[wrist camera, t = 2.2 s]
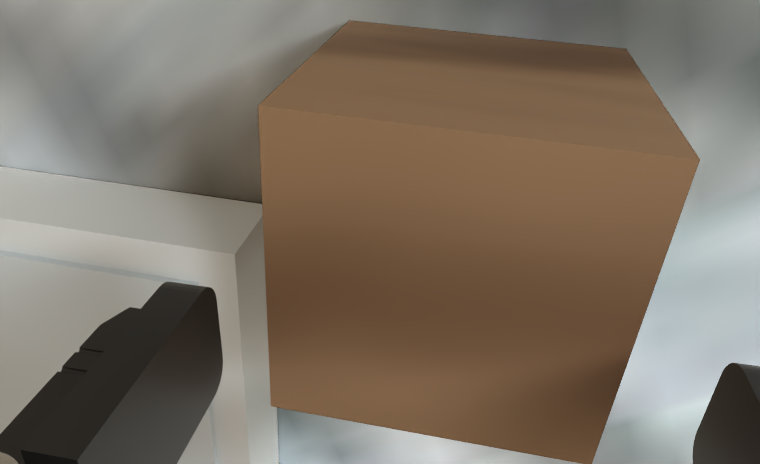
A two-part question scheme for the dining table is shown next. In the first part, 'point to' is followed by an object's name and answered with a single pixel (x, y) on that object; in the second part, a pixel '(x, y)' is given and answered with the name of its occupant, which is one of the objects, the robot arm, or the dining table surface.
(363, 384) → the walnut cube
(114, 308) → the tray
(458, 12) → the dining table surface
